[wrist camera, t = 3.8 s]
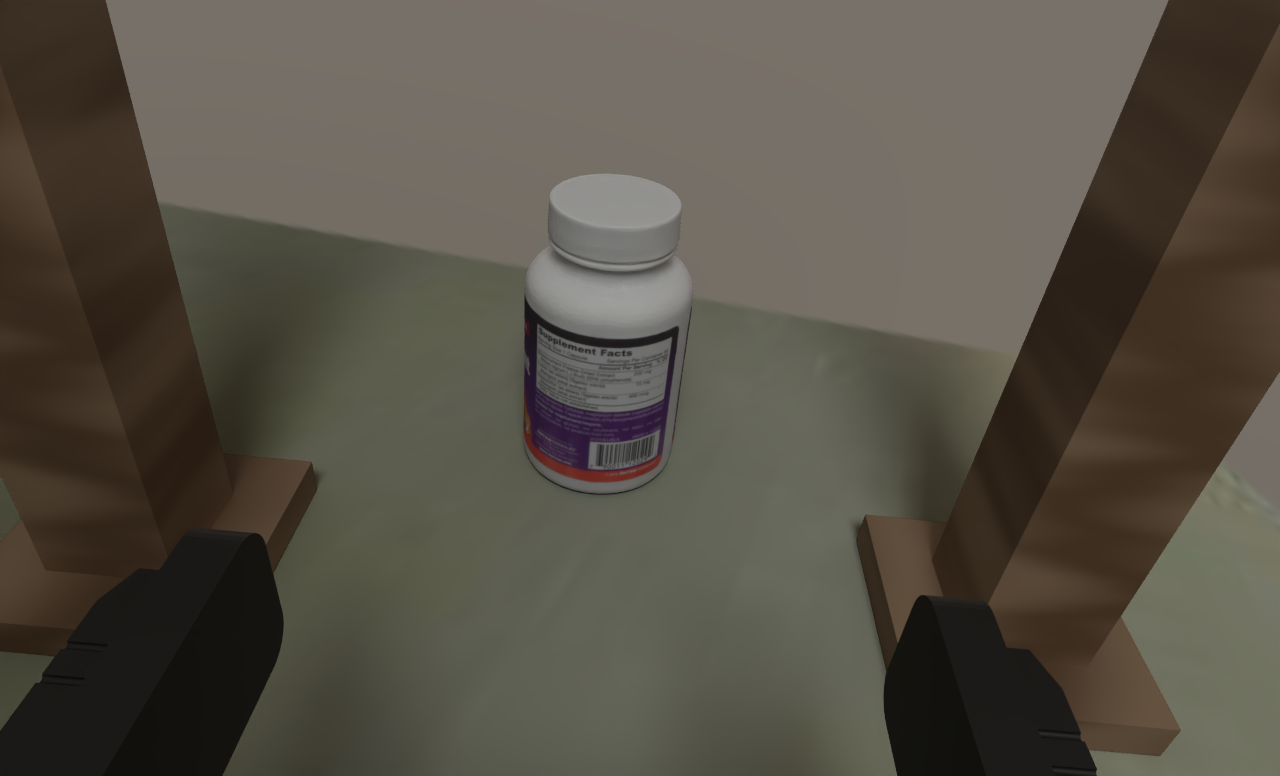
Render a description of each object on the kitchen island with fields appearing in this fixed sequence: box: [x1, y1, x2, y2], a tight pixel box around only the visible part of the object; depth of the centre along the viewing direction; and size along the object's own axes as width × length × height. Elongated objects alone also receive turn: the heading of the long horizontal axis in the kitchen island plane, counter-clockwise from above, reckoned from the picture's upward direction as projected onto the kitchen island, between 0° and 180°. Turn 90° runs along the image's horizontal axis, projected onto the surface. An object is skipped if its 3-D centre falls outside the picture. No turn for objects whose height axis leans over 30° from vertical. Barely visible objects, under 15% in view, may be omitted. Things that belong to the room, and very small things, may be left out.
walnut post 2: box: [857, 0, 1280, 756], centre depth 18 cm, size 7×7×25 cm
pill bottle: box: [524, 174, 693, 494], centre depth 28 cm, size 5×5×10 cm
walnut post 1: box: [0, 0, 317, 656], centre depth 17 cm, size 7×7×25 cm
